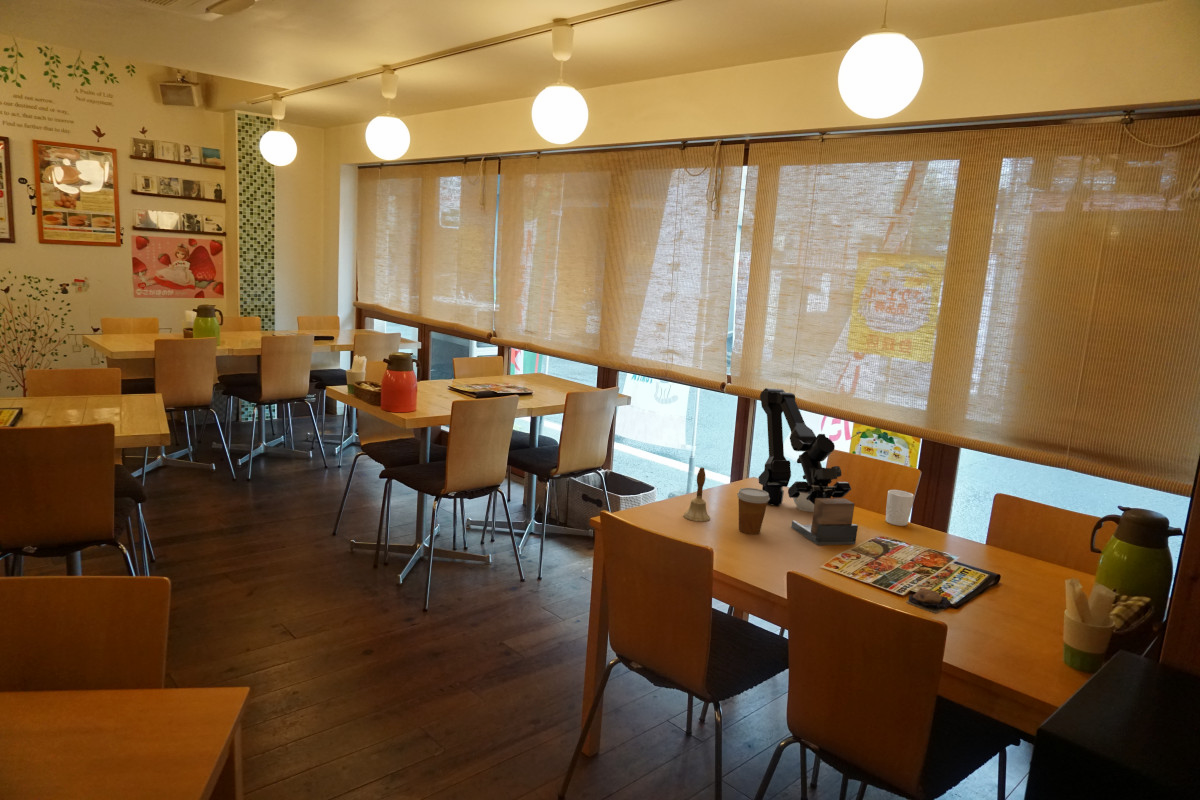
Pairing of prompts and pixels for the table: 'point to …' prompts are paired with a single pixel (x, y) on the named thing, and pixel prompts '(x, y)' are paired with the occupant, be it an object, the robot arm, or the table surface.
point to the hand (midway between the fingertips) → (827, 515)
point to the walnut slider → (832, 512)
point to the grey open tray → (828, 533)
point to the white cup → (898, 507)
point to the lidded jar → (804, 502)
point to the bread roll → (929, 601)
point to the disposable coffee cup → (752, 509)
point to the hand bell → (698, 502)
